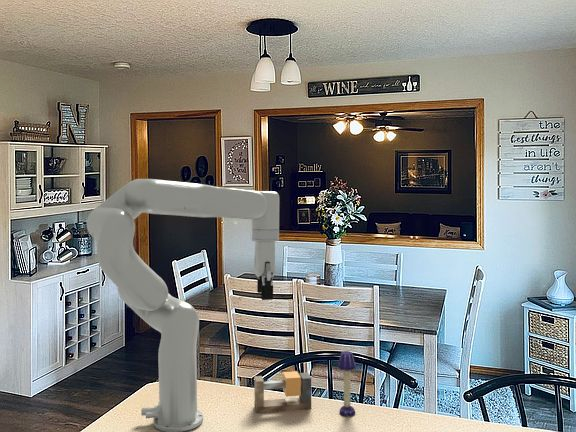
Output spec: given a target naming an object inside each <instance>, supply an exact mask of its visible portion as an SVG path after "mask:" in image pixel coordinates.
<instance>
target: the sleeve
mask: <svg viewBox="0 0 576 432" xmlns="http://www.w3.org/2000/svg"><path fill="white" fill-rule="evenodd" d="M282 380H285V388H282V390H283V393H284V396H285V398H286V397H287V398H288V397H299V396H301V377H300V375H299V372H298V370H296V371H295V370H294V371H293V370H291V371H282Z"/></svg>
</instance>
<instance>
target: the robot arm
mask: <svg viewBox="0 0 576 432" xmlns="http://www.w3.org/2000/svg"><path fill="white" fill-rule="evenodd" d="M142 213H144V214H150V215H151V214H152V215H166V216H167V215H168V216H181V217H191V218H194V217H195V218H228V219H240V220H250V221H251V227H252V228H251V241H252V242H255V243H254V258H253V273H254V275H255V276H256V277H257V280H256V282H257V285H256V287H257V289H256V291H257V294H260V295H261V296H260V297H261V298H260V299H261V300H262V301H272V300H274V281H273V279H274V278H273V277H274V276H275V272H276V271H275V269H276V243H277V242H279V241H280V195H279V193H278V192H277V191H272V190H270V191H269V190H265V191H264V190H259V191H258V190H249V189H240V188H239V189H238V188H228V187H220V186H213V185H210V184H209V185H208V184H205V183H204V184H202V183H194V182H183V181H176V180H175V181H174V180H164V179H156V178H155V179H154V178H136V179H133V180H131V181H129V182H128V183H126V184H125V185H123V186H122V187H121V188H120V189H118V190H117V191H115V192H114V193H113V194H112V195H111V196H109V197H108V198H107V199H105V200H104V201H102V202H101V203H99V204H98V205H97V206H96V207H95V208H94V209H92V211H91V212H90V213H89V214H88V217H87V220H86V229H87V232H88V233H89V235H90V236H91V237H92V238H94V239H95V240H97V243H96V255H97V261H98V264H99V267H100V269H101V270H102V272H103V273H104V274H105V276H107V278H108V279H109V280H110V281H111V282H112V283H113V284H115V286H116V287H117V292H118V295H119V297H120V299H121V300H122V302H124V303H125V304H126V306H127V307H129V308H130V309H131V310H132V311H133V312H134V314H136V315H137V316H138V317H140V319H142V320H143V321H144V322H145V323H146V324H147V325H149V327H151V328H152V329H154V330H155V331H158V332H159V333H160V335H161V336H160V337H161V338H160V340H159V341H160V342H159V347H158V355H157V356H158V359H157V360H158V396H159V397H158V404H157V405H154V406H152V407H141V413H140V414H141V416H142V417H143V416H145V419H152V418H153V419H152V421H153V422H152V423H153V427H155V428H156V429H157V430H158V431H162V432H186V431H191V430H193V429H195V428H198V427H199V426H200V425H201V424H202V423H203V422H204V415H203V412H201V411H200V410H198V387H197V386H198V383H197V382H198V380H197V379H198V377H197V376H198V374H197V343H198V335H199V328H200V318H199V314H198V312H197V310H196V309H195V308H194V306H193V305H191V303H188V302H187V301H185V300H183V299H179V298H176V297H174V296H172V295H171V294H170V293H169V289H168V286H167V284H166V282H165V280H163V278H162V277H161V276H159V275H158V274H157V273H156V272H155V271H154V270H153V269H152V268H151V267H150V266H149V265H148V264H146V262H145V261H144V260H143V259H142V258H141V257H140V255H138V253H137V252H136V251H135V247H134V237H135V232H136V223H135V219H137V218H138V217H139V216H140V215H141V214H142Z"/></svg>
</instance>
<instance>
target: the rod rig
mask: <svg viewBox="0 0 576 432" xmlns="http://www.w3.org/2000/svg"><path fill="white" fill-rule="evenodd" d="M298 374H299V375H300V377H301V396H298V397H287V398H286V397H285V398H278V399H277V398H276V399H265V398H264V397H265V394H264V393H265V390H279V389H283V388H285V380H283V379H281V380H268V381H267V380H266V381H264V378H263V376H262V375H255V376H253V377H254V379H253V380H254V382H253V383H254V384H253V385H254V401H253V403H254V409H255V412H256V413H257V414H259V413H260V414H261V413H262V414H263V413H271V412H272V413H274V412H283V411H284V412H286V411H298V410H299V411H300V410H309V409H312V376H311V375H310V374H309V372H298Z"/></svg>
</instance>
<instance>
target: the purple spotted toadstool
mask: <svg viewBox="0 0 576 432" xmlns="http://www.w3.org/2000/svg"><path fill="white" fill-rule="evenodd" d="M338 359H339V360H338V363H337V368H339V369H340V370H341V371H343V384H344V385H343V389H344V390H343V406H341V407H340V409H339V411H338V412H339V414H340V415H341V416H343V417H353V416H355V414H356V410H355V408H354V407H353V406H352V405H351V393H352V391H351V371H353V370H354V369H355V368H356V363H355V359H354V354H353V353H352V351H350V350H344V351H341V352H340V356H339V358H338Z"/></svg>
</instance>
